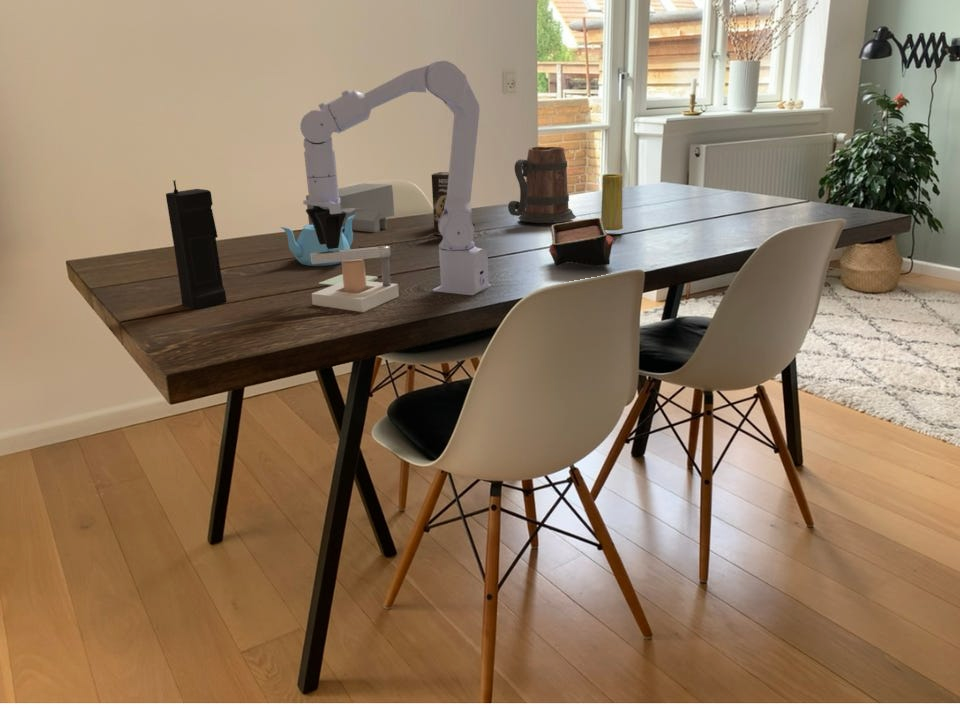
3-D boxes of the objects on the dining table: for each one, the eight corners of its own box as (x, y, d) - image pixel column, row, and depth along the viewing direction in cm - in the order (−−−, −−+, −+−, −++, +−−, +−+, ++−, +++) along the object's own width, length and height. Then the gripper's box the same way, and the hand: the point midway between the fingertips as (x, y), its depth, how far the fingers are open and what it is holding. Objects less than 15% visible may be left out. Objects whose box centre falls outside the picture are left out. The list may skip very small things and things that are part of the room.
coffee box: (433, 234, 222) (430, 174, 216) (441, 230, 227) (438, 171, 222) (465, 235, 219) (462, 174, 213) (472, 230, 225) (470, 171, 219)
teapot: (304, 256, 203) (299, 214, 199) (363, 254, 201) (359, 213, 198) (285, 270, 189) (279, 226, 186) (348, 268, 187) (343, 224, 184)
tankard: (545, 210, 251) (544, 144, 245) (587, 216, 240) (588, 146, 233) (490, 222, 236) (487, 151, 230) (532, 228, 225) (531, 154, 218)
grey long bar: (389, 254, 160) (388, 245, 160) (391, 256, 158) (390, 247, 157) (311, 262, 156) (310, 252, 156) (312, 264, 154) (311, 255, 154)
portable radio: (215, 300, 165) (196, 174, 157) (233, 304, 162) (214, 176, 153) (180, 309, 160) (159, 180, 151) (198, 314, 156) (176, 181, 148)
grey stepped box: (375, 240, 219) (371, 199, 215) (310, 234, 231) (305, 195, 227) (428, 223, 239) (426, 186, 235) (366, 219, 251) (363, 183, 247)
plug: (372, 299, 161) (368, 259, 158) (358, 305, 157) (355, 264, 155) (354, 297, 163) (350, 258, 160) (340, 303, 159) (336, 263, 157)
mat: (377, 278, 177) (377, 276, 176) (352, 289, 169) (352, 286, 169) (344, 275, 181) (344, 273, 181) (318, 285, 173) (318, 282, 173)
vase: (599, 230, 218) (599, 176, 213) (601, 226, 223) (601, 173, 219) (622, 230, 216) (623, 176, 212) (623, 226, 222) (624, 173, 217)
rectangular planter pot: (547, 281, 181) (546, 239, 175) (551, 246, 196) (550, 207, 190) (613, 280, 179) (614, 238, 173) (612, 246, 194) (613, 206, 188)
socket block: (398, 296, 162) (396, 256, 160) (363, 312, 152) (359, 270, 150) (350, 290, 168) (346, 252, 165) (312, 306, 158) (308, 265, 155)
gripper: (291, 174, 160) (299, 242, 165) (311, 181, 148) (319, 255, 152) (326, 170, 163) (333, 238, 168) (348, 177, 151) (355, 250, 155)
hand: (329, 246), depth 160 cm, fingers open, 5 cm apart
